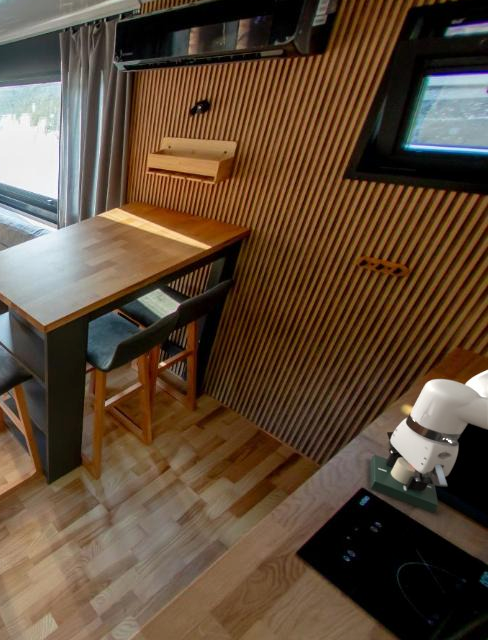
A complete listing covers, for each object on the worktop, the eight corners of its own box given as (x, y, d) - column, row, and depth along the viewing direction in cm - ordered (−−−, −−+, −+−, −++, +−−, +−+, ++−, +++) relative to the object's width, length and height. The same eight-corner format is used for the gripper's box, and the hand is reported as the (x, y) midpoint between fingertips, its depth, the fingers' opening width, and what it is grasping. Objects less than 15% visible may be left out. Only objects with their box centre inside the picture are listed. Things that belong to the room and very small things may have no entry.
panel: (428, 482, 92) (433, 474, 91) (433, 512, 86) (438, 504, 85) (370, 461, 99) (373, 453, 98) (371, 488, 93) (375, 480, 92)
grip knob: (385, 468, 94) (392, 455, 92) (408, 471, 93) (416, 457, 90) (399, 484, 90) (407, 470, 88) (423, 487, 89) (431, 473, 87)
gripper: (493, 461, 75) (456, 513, 83) (421, 401, 90) (395, 450, 98) (445, 457, 77) (413, 508, 85) (382, 399, 92) (359, 447, 100)
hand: (403, 476), depth 91 cm, fingers open, 5 cm apart
